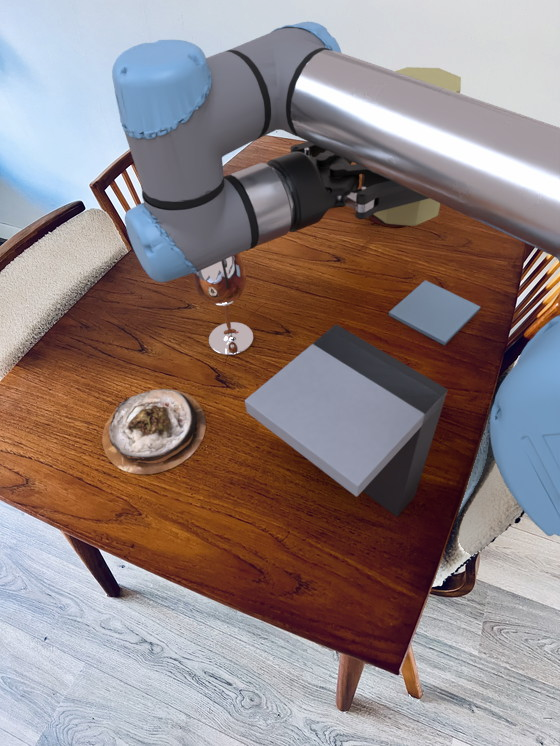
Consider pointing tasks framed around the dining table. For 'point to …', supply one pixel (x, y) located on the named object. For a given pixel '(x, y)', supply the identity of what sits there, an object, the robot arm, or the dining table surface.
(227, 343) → the wineglass
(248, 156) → the dining table surface
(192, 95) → the robot arm
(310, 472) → the dining table surface
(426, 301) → the plate
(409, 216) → the jar
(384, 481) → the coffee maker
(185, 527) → the dining table surface
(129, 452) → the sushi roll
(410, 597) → the dining table surface
